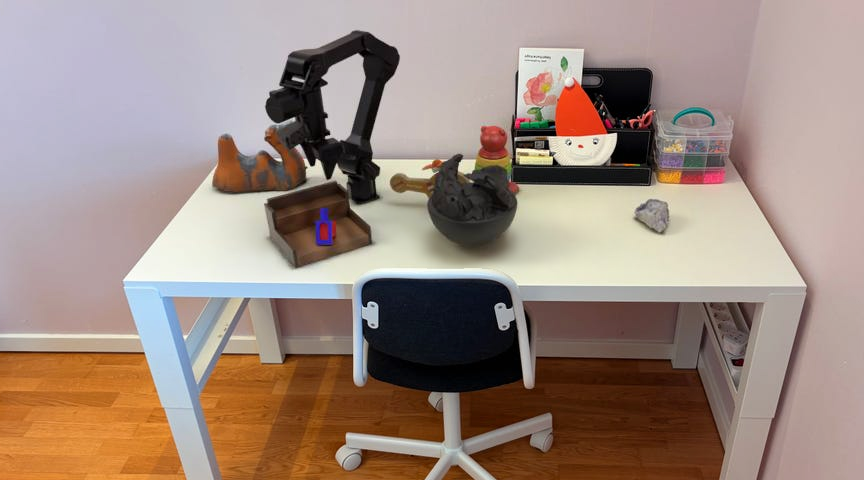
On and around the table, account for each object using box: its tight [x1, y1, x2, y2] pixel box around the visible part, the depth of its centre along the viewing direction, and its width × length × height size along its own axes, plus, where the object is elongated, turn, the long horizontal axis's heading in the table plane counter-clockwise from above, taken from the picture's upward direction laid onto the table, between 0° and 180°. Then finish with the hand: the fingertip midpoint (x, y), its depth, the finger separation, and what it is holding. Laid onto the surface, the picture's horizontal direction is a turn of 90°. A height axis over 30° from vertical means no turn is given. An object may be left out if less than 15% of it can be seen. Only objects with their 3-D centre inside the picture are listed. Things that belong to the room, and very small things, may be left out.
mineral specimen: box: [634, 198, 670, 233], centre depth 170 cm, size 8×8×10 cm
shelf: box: [263, 180, 373, 269], centre depth 166 cm, size 19×16×10 cm
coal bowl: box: [426, 153, 518, 247], centre depth 162 cm, size 20×20×19 cm
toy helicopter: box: [389, 158, 471, 199], centre depth 178 cm, size 8×21×14 cm, turn 73°
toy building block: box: [316, 208, 336, 245], centre depth 163 cm, size 4×4×8 cm
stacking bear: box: [474, 125, 520, 195], centre depth 183 cm, size 11×10×18 cm
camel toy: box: [211, 120, 309, 194], centre depth 190 cm, size 25×13×17 cm, turn 82°
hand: (320, 172), depth 172 cm, fingers open, 9 cm apart
